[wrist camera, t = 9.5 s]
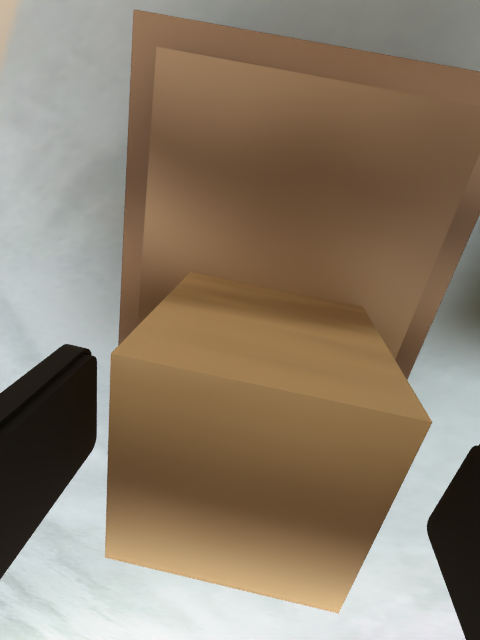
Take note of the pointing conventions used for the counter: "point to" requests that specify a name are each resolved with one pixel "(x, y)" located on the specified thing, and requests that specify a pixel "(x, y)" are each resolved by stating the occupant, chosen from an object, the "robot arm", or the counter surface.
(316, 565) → the oak cube
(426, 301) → the copper tray
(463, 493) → the robot arm
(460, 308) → the counter surface
